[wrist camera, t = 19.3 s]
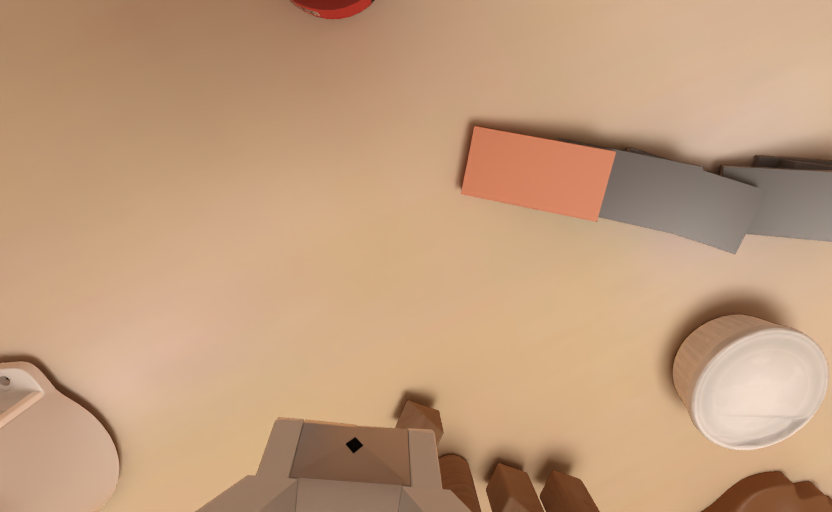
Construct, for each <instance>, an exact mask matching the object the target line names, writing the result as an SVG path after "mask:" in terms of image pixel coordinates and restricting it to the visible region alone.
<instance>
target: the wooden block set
mask: <svg viewBox="0 0 832 512" xmlns="http://www.w3.org/2000/svg"><path fill="white" fill-rule="evenodd" d="M395 428H400V429H407V428H411V429H431V430H433V431H434V432H435V439H436V446H438V443H439V441H440V439H441V437H442V435H443V428H442V423H441V418H440V413H439V411H438V410H435V409H432V408H429V407H427V406H424V405H421V404H418V403H415V402H412V401H409V400H407V402H406V404H405V407H404V409H403V411H402V413H401V416H400V418H399V420H398V422H397V425H396V427H395ZM438 460H439V468H440V475H441V482H442V489H446V490H451V491H452V492H453V493H454V494H455V495H456V496H457V497H458V498H459V499H460V500H461V501H462V502H463V503H464V504H465V505H466V506H467V507H468V508H469V510H470V511H471V512H481V509H480V505H479V501H478V497H477V494H476V490H475V486H474V482H473V478H472V475H471V471H470V468H469V465H468V463H467V462H466V461H465V460H464V459H463V458H462V457H460V456H458V455H445V456H443V457H441V458H439V459H438ZM486 492H487V496H488V499H489V502H490V506H491V509H492V512H544V510H543V508H542V506H541V503H540V501H539V499H538V496H537V494H536V492H535V490H534V487H533V485H532V483H531V480H530V478H529V476H528V474H527V473H526V472H524V471H521V470H518V469H515V468H512V467H509V466H506V465H503V464H498V465H497V467H496V469H495V471H494V473H493V475H492V477H491V479H490V481H489V483H488V486H487V488H486ZM540 499H541V501H542V504H543V506H544V508H545V510H546V512H600V511H599V510H598V508H597V506H596V504H595V503H594V501H593V499H592V498H591V496H590V494H589V492H588V491H587V489H586V487H585V486H584V484H583V482H582V481H581V480H580V479H578V478H575V477H572V476H569V475H566V474H563V473H560V472H557V471H552V473H551V474H550V476H549V478H548V480H547V482H546V484H545V486H544V488H543V490H542V492H541V494H540Z"/></svg>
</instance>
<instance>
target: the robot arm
mask: <svg viewBox="0 0 832 512" xmlns="http://www.w3.org/2000/svg"><path fill="white" fill-rule="evenodd" d="M6 377H7V378H9V380H10V381H9V380H8V379H7V378H6ZM118 477H119V459H118V455H117V451H116V448H115V445H114V443H113V441H112V439H111V437H110V435H109V434H108V432H107V431H106V429H105V428H104V427H103V426H102V424H101V423H100V422H99V421H98V420H97V419H96V418H95V417H94V416H93V415H92V414H91V413H90V412H89V411H87V410H86V409H85V408H83V407H82V406H80V405H79V404H77V403H76V402H74V401H73V400H71V399H69V398H68V397H66V396H64V395H63V394H62V393H60V392H59V391H58V390H56V389H55V388H54V386H53V385H52V384H51V382H50V381H49V380H48V379H47V378H46V376H45V375H44V374H43V373H42V372H41V371H40V370H39V369H38V368H37V367H36V366H34V365H33V364H31V363H28V362H23V361H19V362H6V363H0V512H97V511H98V510H99V509H100V508H102V507H103V506H104V505H105V504H106V503H107V501H108V500H109V499H110V497H111V496H112V494H113V492H114V490H115V488H116V485H117V482H118ZM195 512H471V511H470V510H469V508H468V507H467V506H466V505H465V504H464V503H463V502H462V501H461V500H460V499H459V498H458V497H457V496H456V495H455V494H454V493H453V492H452V491H451V490H446V489H442V482H441V475H440V468H439V460H438V453H437V446H436V439H435V432H434V431H433V430H431V429H411V428H407V429H400V428H386V427H371V426H357V425H353V424H344V423H334V422H324V421H315V420H305V421H304V420H303V419H294V418H282V417H278V418H277V420H276V421H275V423H274V425H273V428H272V431H271V434H270V437H269V440H268V442H267V445H266V448H265V451H264V454H263V457H262V459H261V462H260V465H259V468H258V471H257V474H256V476H252V475H247V476H246V477H244V478H243V479H241V480H240V481H239V482H237V483H236V484H234V485H233V486H231V487H230V488H229V489H227V490H226V491H224V492H223V493H221V494H220V495H218V496H217V497H216V498H214V499H213V500H211V501H210V502H208V503H207V504H206V505H204V506H203V507H201V508H200V509H198V510H197V511H195Z"/></svg>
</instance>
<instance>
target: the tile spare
mask: <svg viewBox="0 0 832 512" xmlns="http://www.w3.org/2000/svg"><path fill="white" fill-rule="evenodd" d="M615 154H616V152H615V151H611V150H606V149H600V148H595V147H589V146H583V145H578V144H572V143H567V142H561V141H556V140H550V139H545V138H539V137H534V136H528V135H522V134H517V133H511V132H506V131H500V130H495V129H489V128H484V127H478V126H474V130H473V135H472V141H471V146H470V151H469V156H468V161H467V166H466V171H465V176H464V181H463V187H462V192H461V194H464V195H469V196H474V197H479V198H483V199H488V200H493V201H498V202H503V203H508V204H513V205H518V206H523V207H527V208H532V209H537V210H542V211H547V212H552V213H557V214H562V215H566V216H571V217H576V218H581V219H586V220H591V221H596V222H597V219H598V216H599V212H600V209H601V205H602V201H603V198H604V194H605V190H606V187H607V183H608V180H609V176H610V172H611V169H612V165H613V162H614V158H615Z"/></svg>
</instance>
